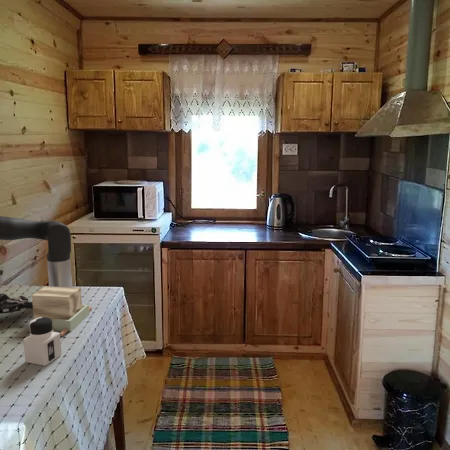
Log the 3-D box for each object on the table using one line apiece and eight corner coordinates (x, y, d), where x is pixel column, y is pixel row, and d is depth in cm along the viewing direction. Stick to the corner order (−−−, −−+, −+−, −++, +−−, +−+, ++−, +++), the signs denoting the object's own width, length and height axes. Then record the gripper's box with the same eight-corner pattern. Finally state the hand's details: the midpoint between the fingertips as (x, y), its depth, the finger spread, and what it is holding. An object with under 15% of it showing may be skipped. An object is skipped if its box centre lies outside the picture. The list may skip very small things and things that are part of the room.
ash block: (48, 315, 175) (45, 286, 173) (82, 317, 173) (80, 287, 171) (34, 326, 165) (31, 295, 163) (70, 328, 163) (68, 297, 161)
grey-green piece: (77, 309, 181) (76, 299, 181) (94, 310, 180) (93, 300, 180) (46, 335, 157) (45, 325, 156) (65, 337, 156) (64, 326, 155)
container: (62, 355, 143) (59, 316, 141) (45, 366, 136) (41, 326, 134) (42, 351, 146) (39, 313, 143) (24, 362, 139) (21, 322, 136)
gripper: (-20, 300, 164) (25, 302, 162) (1, 288, 177) (43, 290, 175) (-18, 319, 165) (26, 321, 163) (3, 306, 178) (45, 308, 176)
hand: (35, 305), depth 169 cm, fingers closed
